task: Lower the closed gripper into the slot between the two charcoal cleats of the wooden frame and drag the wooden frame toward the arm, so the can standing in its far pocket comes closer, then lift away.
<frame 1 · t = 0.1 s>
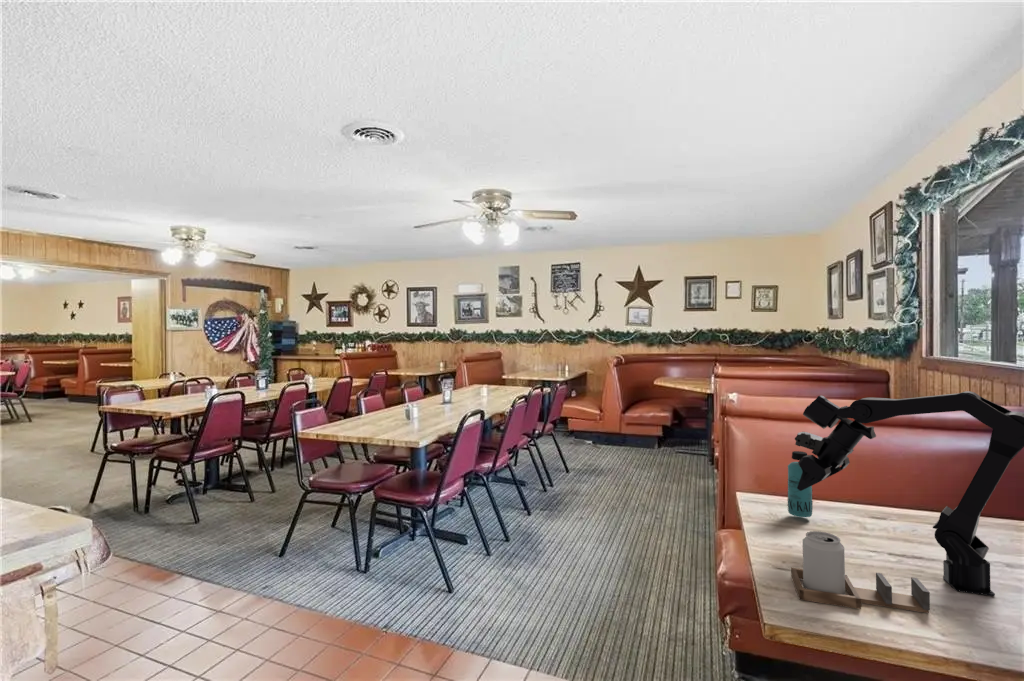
hand: (805, 486, 129), 15 cm above the table, tool tilted 35°, fingers open, 9 cm apart
wooden frame: (856, 586, 101), point 2 cm above the table, slide at 0.0 cm
can: (823, 593, 103), resting in wooden frame
beverage bottle: (800, 519, 146), on the table
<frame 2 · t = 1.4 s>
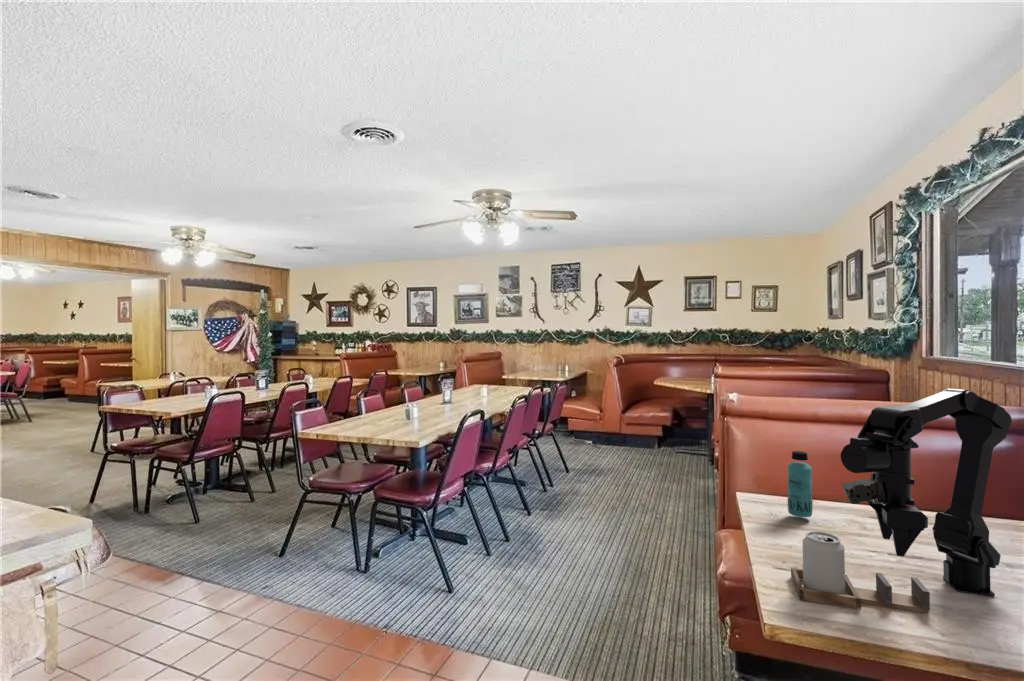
hand: (892, 547, 99), 11 cm above the table, tool pointing down, fingers open, 9 cm apart
nothing on the table moved.
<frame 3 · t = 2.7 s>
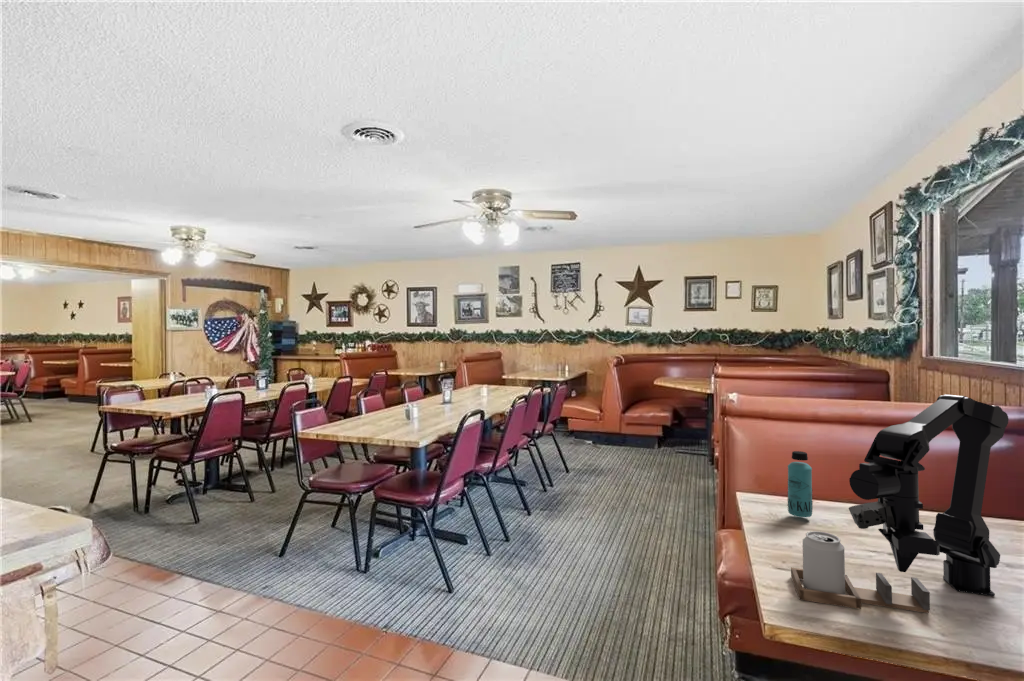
hand: (901, 571, 98), 7 cm above the table, tool pointing down, fingers closed
nothing on the table moved.
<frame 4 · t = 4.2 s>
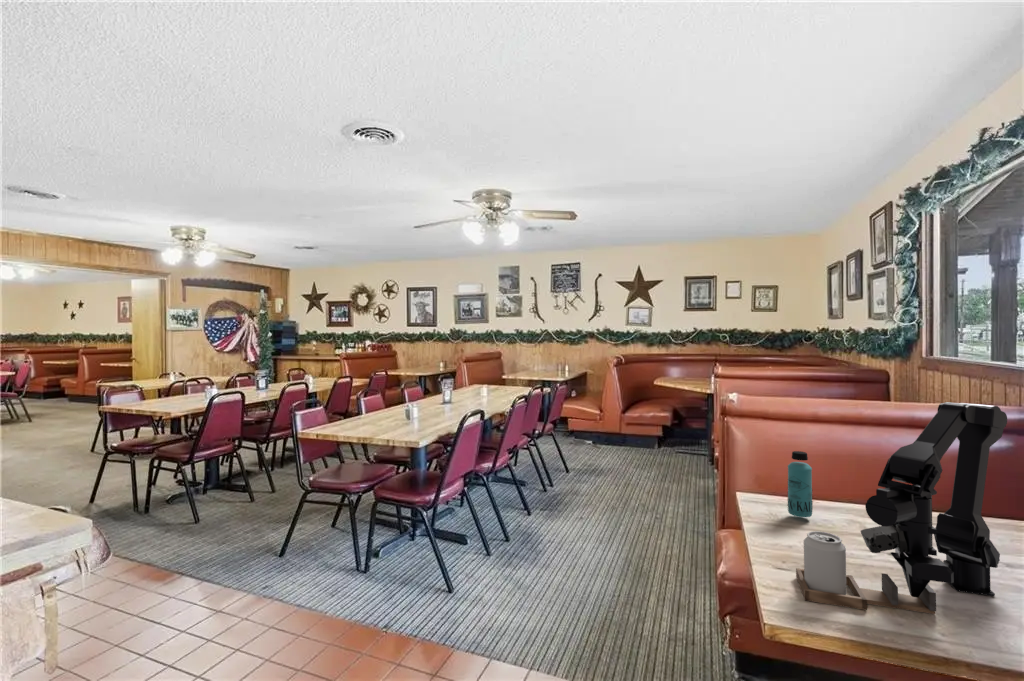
hand: (914, 596, 98), 2 cm above the table, tool pointing down, fingers closed, pressing on wooden frame
wooden frame: (862, 586, 101), point 2 cm above the table, slide at 1.0 cm, touching gripper
everything else where it was.
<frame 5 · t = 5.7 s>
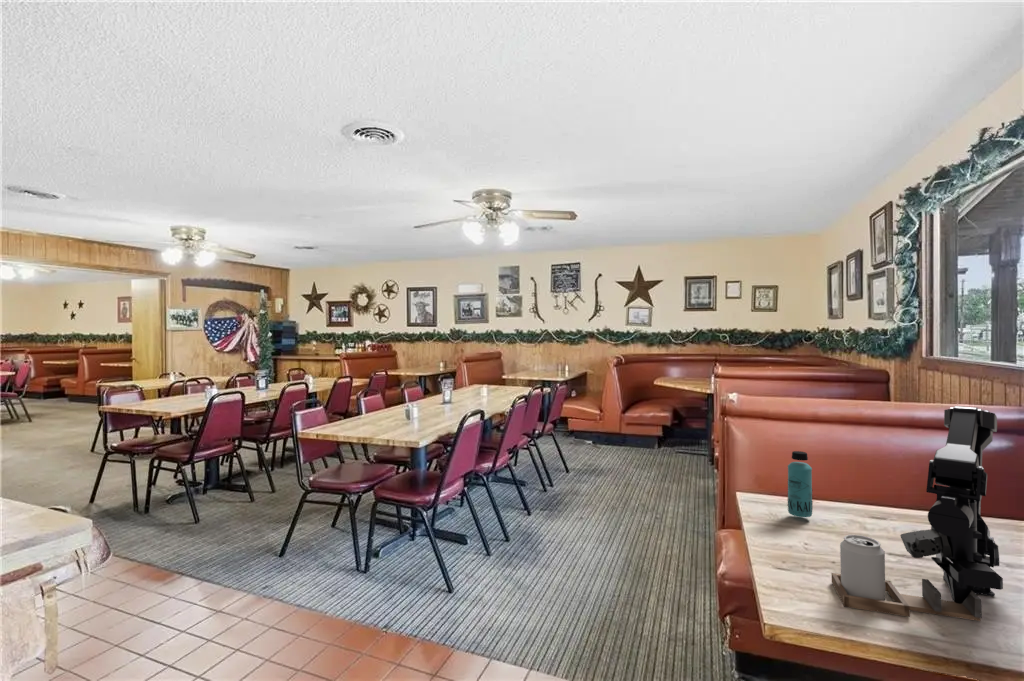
hand: (957, 602, 95), 2 cm above the table, tool pointing down, fingers closed, pressing on wooden frame
wooden frame: (902, 592, 98), point 2 cm above the table, slide at 7.8 cm, touching can, gripper
can: (862, 598, 101), resting in wooden frame
everything else where it was.
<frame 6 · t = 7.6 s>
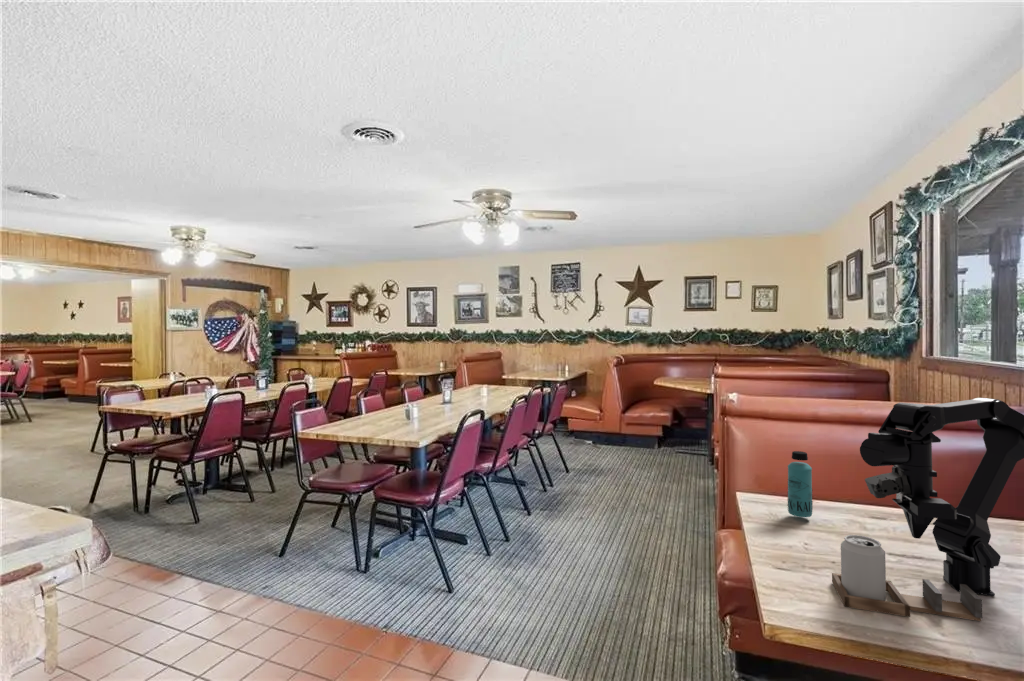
hand: (916, 537, 103), 11 cm above the table, tool pointing down, fingers closed
wooden frame: (903, 592, 98), point 2 cm above the table, slide at 7.9 cm
can: (863, 598, 101), resting in wooden frame
everything else where it was.
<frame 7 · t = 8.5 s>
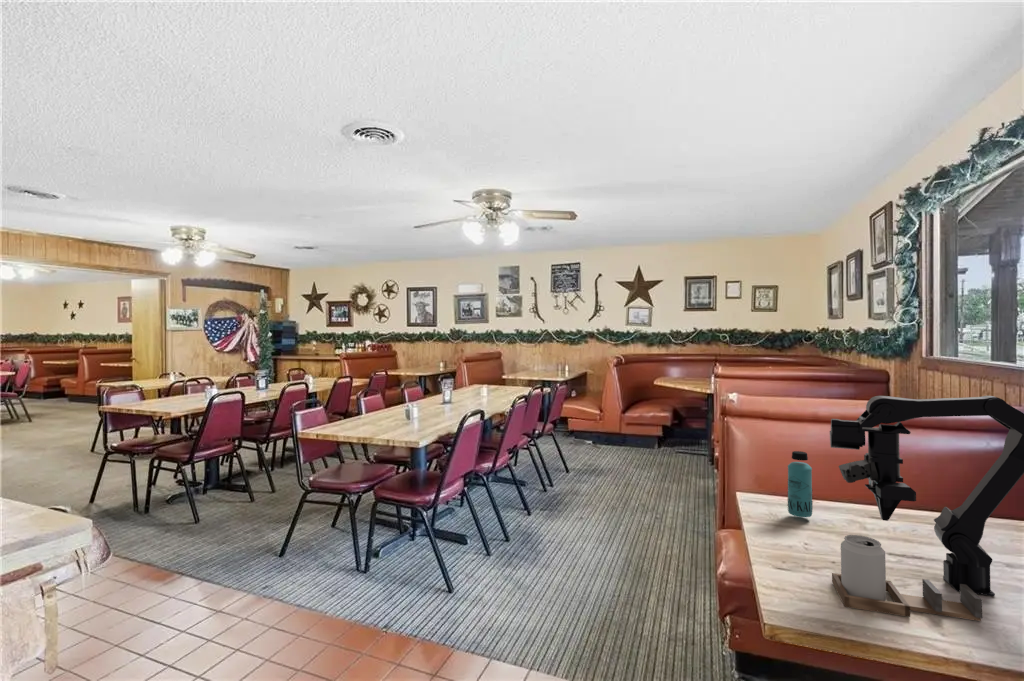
hand: (884, 520, 112), 12 cm above the table, tool pointing down, fingers closed
nothing on the table moved.
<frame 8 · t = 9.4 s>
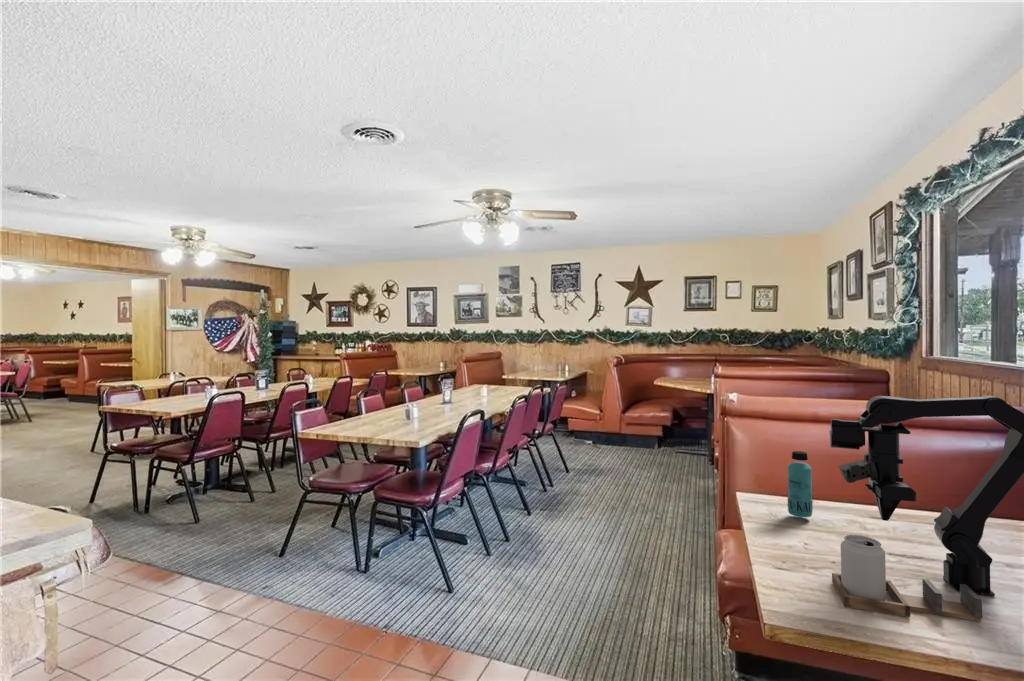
hand: (884, 520, 112), 12 cm above the table, tool pointing down, fingers closed
nothing on the table moved.
at the end: wooden frame slide at 7.9 cm; can inside the target area (0.4 cm from its centre), resting in wooden frame; can tilted 0° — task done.
